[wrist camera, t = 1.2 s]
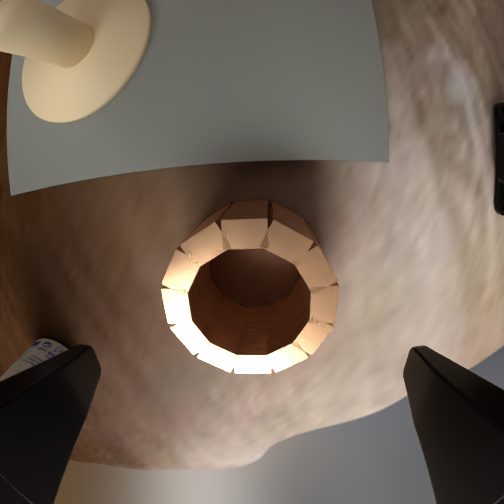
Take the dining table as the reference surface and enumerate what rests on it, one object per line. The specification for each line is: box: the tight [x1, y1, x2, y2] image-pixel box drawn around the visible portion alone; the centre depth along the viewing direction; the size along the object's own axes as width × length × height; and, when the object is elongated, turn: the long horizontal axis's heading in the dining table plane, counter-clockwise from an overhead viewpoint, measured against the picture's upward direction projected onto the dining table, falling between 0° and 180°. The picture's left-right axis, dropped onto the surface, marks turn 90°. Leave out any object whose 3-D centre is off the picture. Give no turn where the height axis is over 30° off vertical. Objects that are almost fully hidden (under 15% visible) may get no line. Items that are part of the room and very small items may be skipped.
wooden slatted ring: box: [161, 200, 339, 374], centre depth 12 cm, size 6×6×4 cm
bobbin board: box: [0, 0, 389, 196], centre depth 7 cm, size 20×14×7 cm
